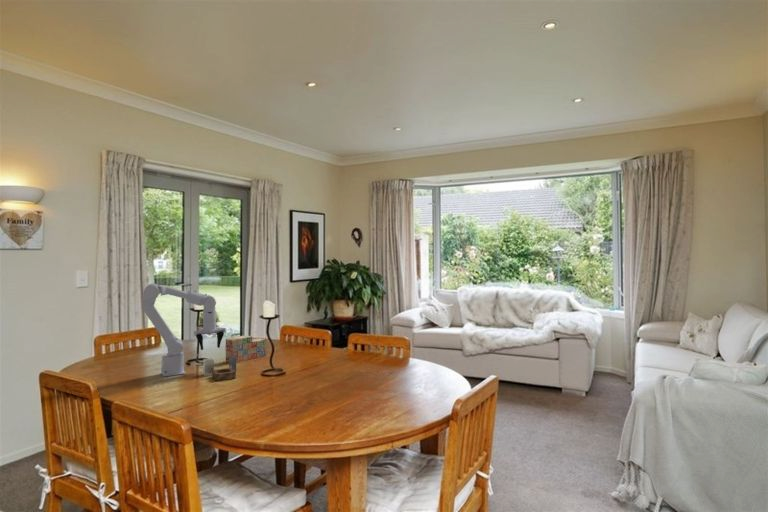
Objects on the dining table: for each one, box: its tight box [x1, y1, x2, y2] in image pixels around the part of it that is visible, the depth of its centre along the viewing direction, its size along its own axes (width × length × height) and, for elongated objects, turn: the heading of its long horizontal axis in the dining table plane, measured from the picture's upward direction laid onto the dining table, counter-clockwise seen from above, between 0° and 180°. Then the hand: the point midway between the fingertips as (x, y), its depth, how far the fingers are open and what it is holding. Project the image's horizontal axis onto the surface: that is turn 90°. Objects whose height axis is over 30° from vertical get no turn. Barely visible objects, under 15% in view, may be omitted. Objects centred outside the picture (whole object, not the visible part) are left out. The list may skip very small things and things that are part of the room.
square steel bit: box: [202, 357, 215, 377], centre depth 202 cm, size 4×4×7 cm
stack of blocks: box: [225, 334, 267, 363], centre depth 233 cm, size 21×6×12 cm, turn 144°
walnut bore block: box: [211, 367, 237, 382], centre depth 197 cm, size 8×8×3 cm
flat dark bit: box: [228, 355, 237, 373], centre depth 208 cm, size 2×6×7 cm, turn 32°
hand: (210, 348), depth 210 cm, fingers open, 7 cm apart
